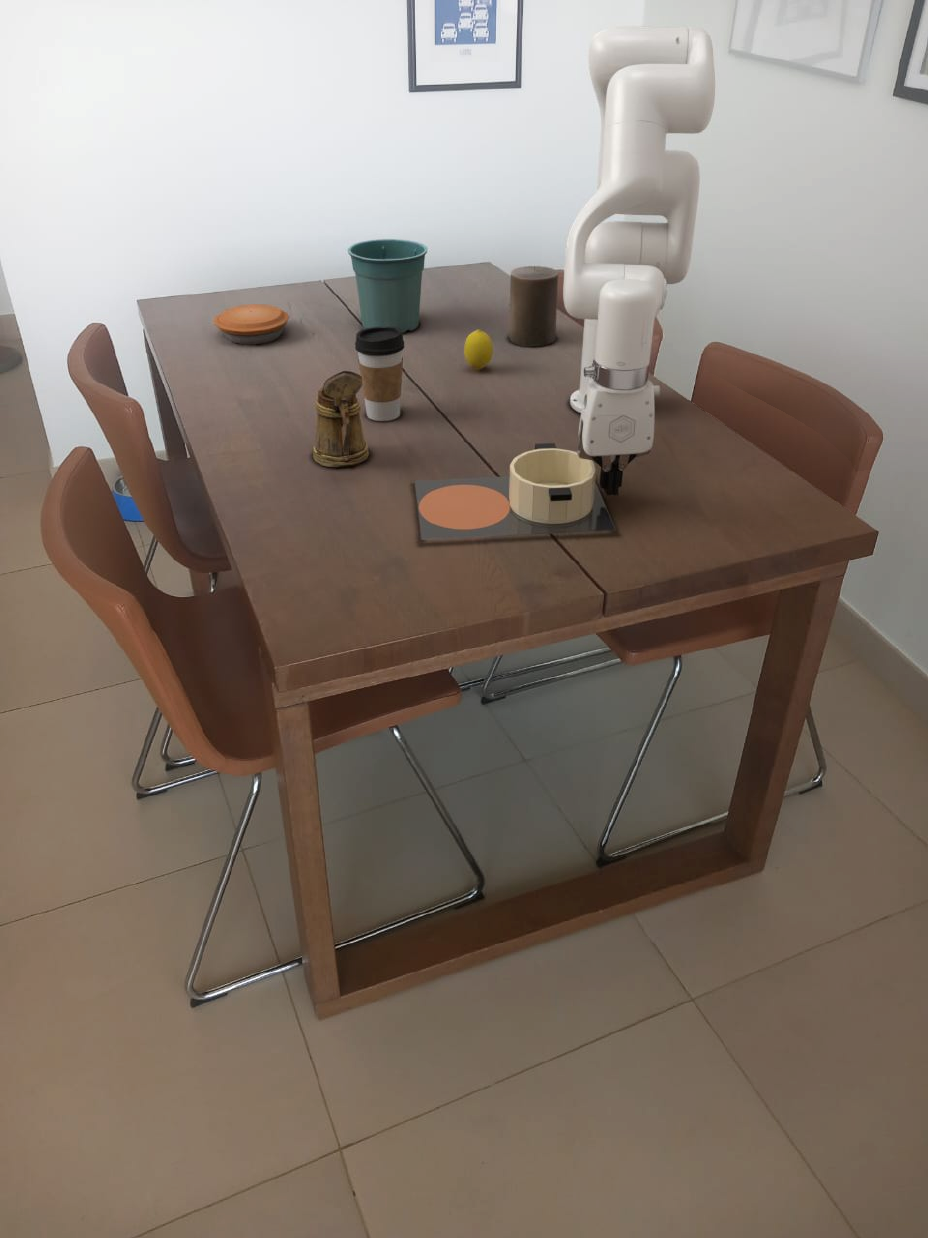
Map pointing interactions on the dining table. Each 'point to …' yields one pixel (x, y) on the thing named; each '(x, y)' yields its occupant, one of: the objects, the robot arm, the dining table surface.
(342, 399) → the wooden mug
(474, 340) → the lemon
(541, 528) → the cooktop
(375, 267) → the flower pot
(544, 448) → the pot
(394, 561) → the dining table surface
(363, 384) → the coffee cup
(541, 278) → the pillar candle
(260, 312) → the pie
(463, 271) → the dining table surface
